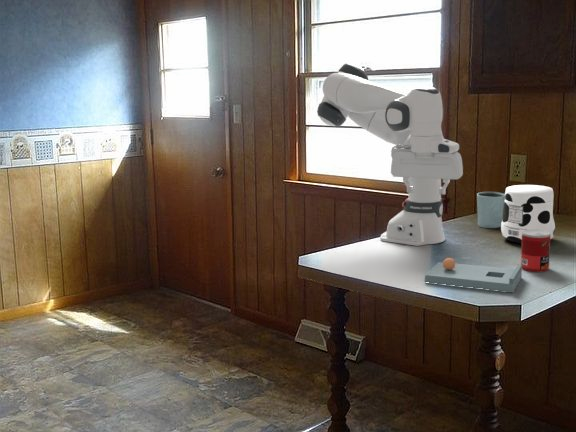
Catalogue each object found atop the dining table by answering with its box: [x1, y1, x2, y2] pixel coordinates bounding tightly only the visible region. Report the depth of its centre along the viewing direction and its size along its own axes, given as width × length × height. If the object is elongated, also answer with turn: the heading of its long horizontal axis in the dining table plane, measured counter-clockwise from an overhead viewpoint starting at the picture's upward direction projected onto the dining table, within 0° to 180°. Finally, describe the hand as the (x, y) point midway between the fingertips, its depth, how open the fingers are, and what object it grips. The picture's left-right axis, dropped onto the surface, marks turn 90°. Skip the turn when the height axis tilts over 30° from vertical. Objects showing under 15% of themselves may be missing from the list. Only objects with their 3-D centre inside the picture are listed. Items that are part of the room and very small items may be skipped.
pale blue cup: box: [476, 191, 505, 229], centre depth 257 cm, size 10×10×12 cm
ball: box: [442, 257, 456, 270], centre depth 198 cm, size 4×4×4 cm
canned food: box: [520, 230, 551, 273], centre depth 203 cm, size 8×8×11 cm
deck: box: [424, 261, 523, 293], centre depth 195 cm, size 24×14×4 cm, turn 63°
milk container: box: [500, 184, 556, 244], centre depth 233 cm, size 17×17×18 cm
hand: (426, 193), depth 197 cm, fingers open, 8 cm apart
